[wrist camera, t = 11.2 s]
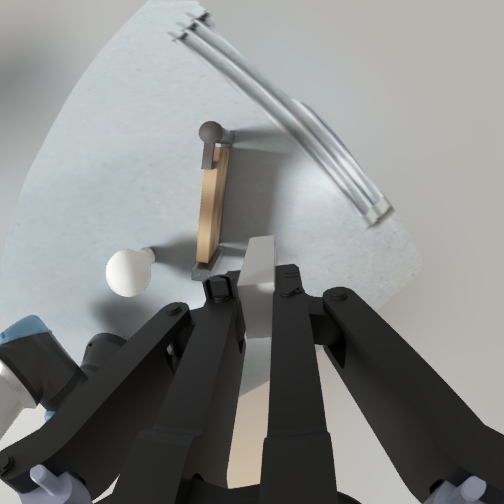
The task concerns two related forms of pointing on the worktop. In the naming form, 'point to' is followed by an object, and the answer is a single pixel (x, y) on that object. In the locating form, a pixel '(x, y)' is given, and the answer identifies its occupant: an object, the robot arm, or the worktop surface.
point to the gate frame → (208, 269)
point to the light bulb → (130, 271)
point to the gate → (211, 190)
